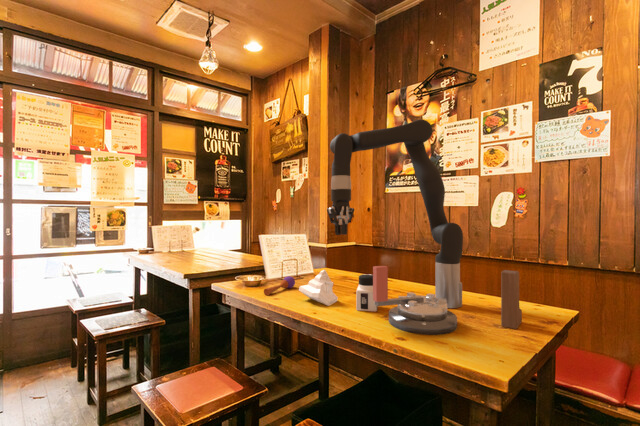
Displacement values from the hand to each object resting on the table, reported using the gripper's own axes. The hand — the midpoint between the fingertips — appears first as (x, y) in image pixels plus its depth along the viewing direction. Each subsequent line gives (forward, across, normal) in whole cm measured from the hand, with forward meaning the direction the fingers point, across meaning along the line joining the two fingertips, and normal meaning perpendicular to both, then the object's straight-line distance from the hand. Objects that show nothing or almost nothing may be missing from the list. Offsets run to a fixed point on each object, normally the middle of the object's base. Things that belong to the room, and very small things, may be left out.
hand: (341, 234), depth 124 cm
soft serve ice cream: (+29, -6, -16) cm, 34 cm away
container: (+29, -11, +4) cm, 32 cm away
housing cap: (+29, -10, +28) cm, 41 cm away
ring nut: (+26, -5, +25) cm, 36 cm away
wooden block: (+29, -28, +50) cm, 65 cm away
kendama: (+30, -6, -43) cm, 53 cm away
